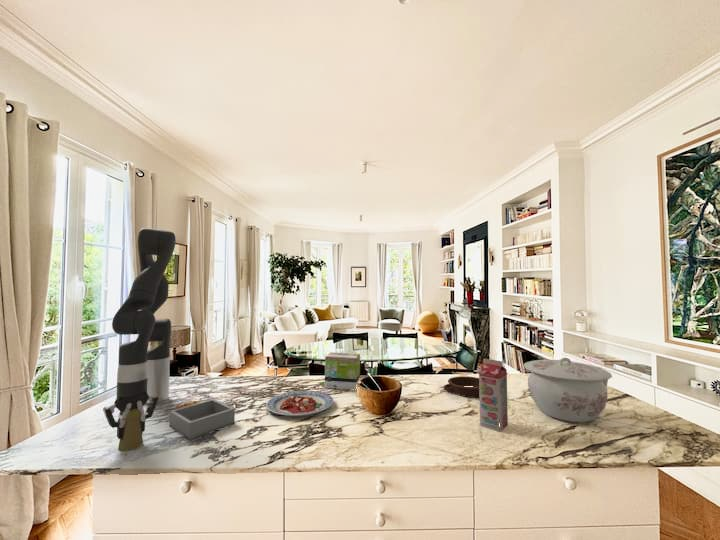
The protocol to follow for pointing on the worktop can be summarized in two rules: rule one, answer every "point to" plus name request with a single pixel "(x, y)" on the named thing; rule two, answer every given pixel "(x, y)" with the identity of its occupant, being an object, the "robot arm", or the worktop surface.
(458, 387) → the dish
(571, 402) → the chamber pot
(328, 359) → the tea box
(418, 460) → the worktop surface
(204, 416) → the bin
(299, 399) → the ceramic plate
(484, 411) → the juice carton
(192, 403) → the pastry
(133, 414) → the cork
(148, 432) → the worktop surface
